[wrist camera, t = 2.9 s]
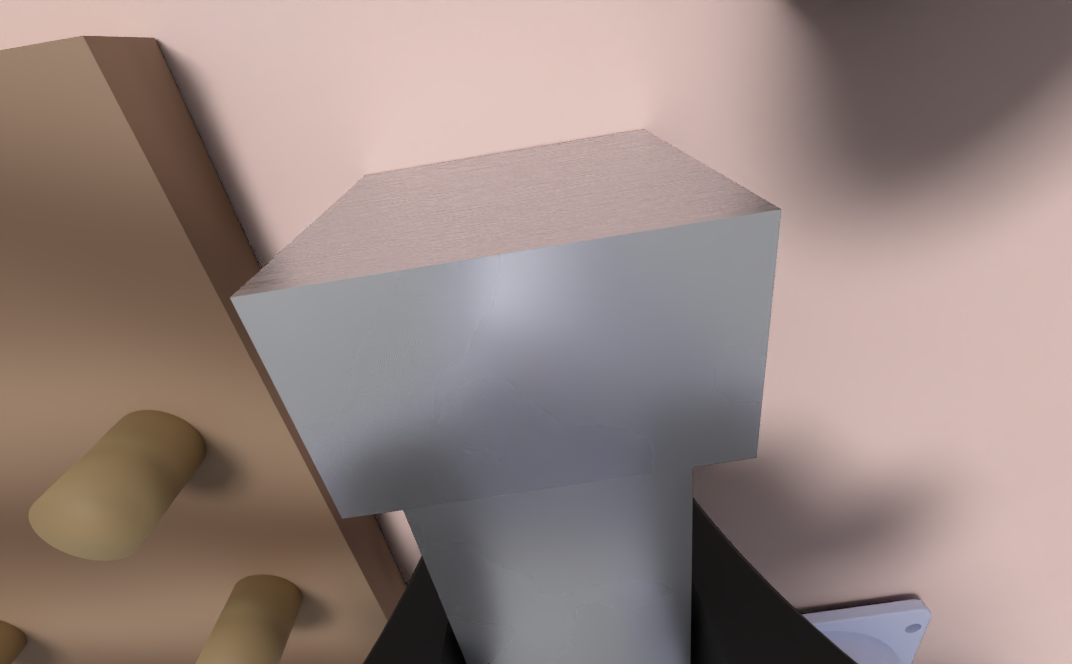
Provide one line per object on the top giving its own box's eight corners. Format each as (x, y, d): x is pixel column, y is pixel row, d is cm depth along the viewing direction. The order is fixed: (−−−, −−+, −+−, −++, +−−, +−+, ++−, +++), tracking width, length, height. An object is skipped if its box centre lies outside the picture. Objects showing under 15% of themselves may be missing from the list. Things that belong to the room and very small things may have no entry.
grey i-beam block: (661, 617, 16) (719, 825, 12) (510, 638, 16) (511, 852, 12) (643, 129, 9) (781, 209, 4) (365, 175, 9) (229, 296, 5)
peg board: (439, 657, 17) (424, 793, 14) (92, 705, 17) (2, 848, 14) (154, 38, 8) (-76, 30, 5) (-567, 164, 8) (-1222, 235, 5)
